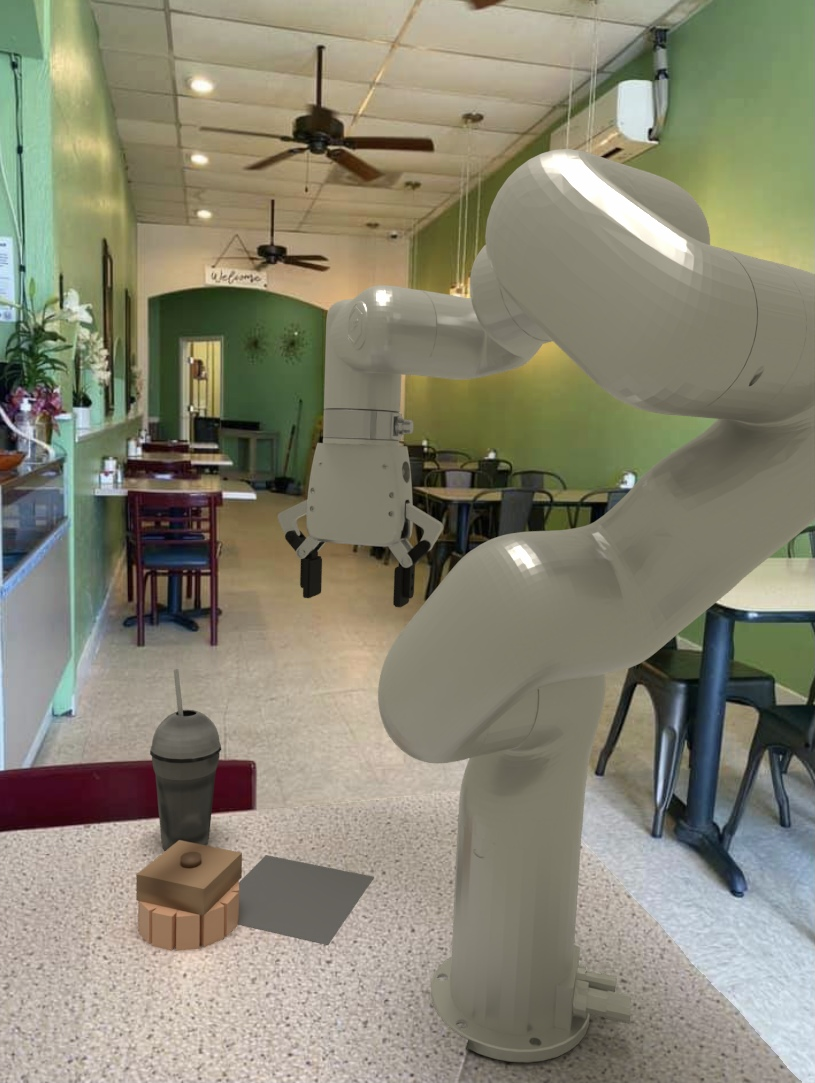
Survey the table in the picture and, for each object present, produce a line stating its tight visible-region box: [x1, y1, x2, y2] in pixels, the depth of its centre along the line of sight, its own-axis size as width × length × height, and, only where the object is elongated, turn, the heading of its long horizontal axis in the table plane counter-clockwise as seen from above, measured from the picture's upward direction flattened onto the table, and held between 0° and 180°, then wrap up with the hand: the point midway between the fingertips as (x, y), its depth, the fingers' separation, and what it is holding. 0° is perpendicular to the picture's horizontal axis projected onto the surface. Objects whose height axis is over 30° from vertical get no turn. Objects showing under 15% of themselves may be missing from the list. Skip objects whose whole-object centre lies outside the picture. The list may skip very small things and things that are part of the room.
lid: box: [135, 840, 243, 916], centre depth 73 cm, size 7×7×3 cm
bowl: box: [137, 880, 240, 952], centre depth 73 cm, size 9×9×4 cm
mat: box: [237, 854, 375, 946], centre depth 78 cm, size 12×12×1 cm
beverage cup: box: [149, 668, 222, 852], centre depth 86 cm, size 7×7×20 cm
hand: (356, 600), depth 83 cm, fingers open, 9 cm apart
